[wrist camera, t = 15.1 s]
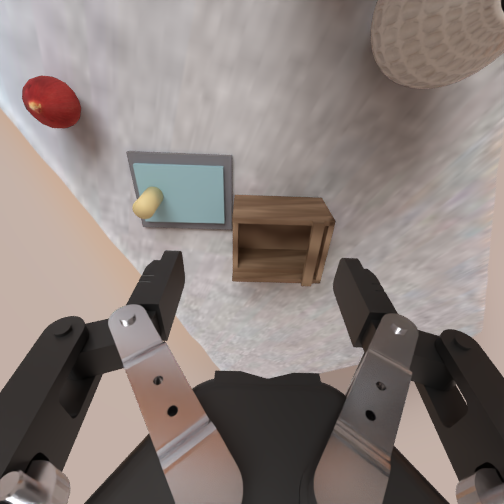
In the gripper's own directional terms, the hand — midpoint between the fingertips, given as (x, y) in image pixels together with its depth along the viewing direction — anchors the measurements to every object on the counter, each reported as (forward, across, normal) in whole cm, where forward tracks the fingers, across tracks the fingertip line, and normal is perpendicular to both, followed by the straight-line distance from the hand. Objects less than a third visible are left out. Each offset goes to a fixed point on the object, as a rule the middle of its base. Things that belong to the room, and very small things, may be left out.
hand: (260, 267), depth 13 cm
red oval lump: (+32, +26, -3) cm, 41 cm away
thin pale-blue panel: (+31, +12, +10) cm, 34 cm away
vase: (+32, -18, -13) cm, 39 cm away
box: (+31, -5, +16) cm, 35 cm away
